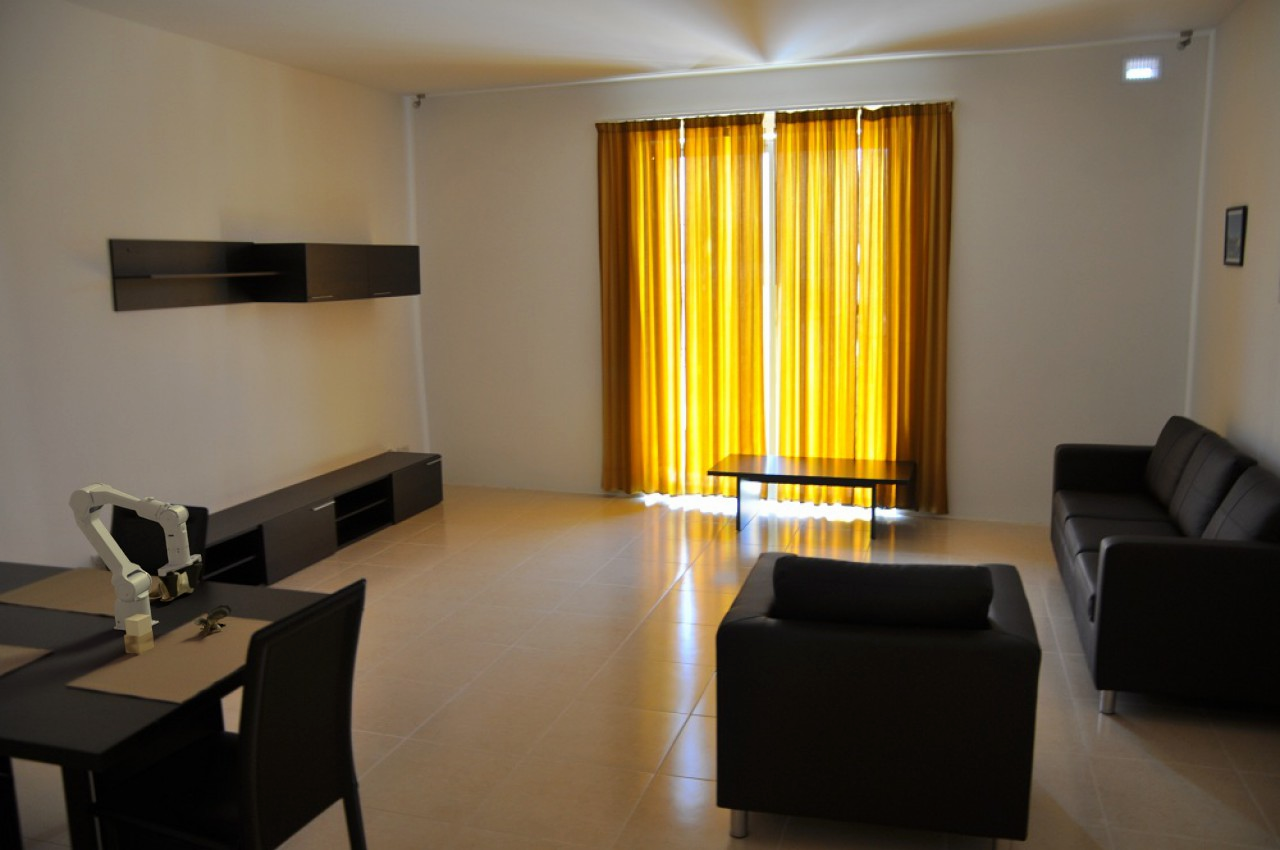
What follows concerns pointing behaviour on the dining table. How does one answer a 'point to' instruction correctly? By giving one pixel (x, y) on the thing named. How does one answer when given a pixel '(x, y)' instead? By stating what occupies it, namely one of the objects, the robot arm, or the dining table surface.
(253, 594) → the dining table surface
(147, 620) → the cream block
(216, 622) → the eagle figurine
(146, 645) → the oak base block
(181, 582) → the ceramic sculpture
